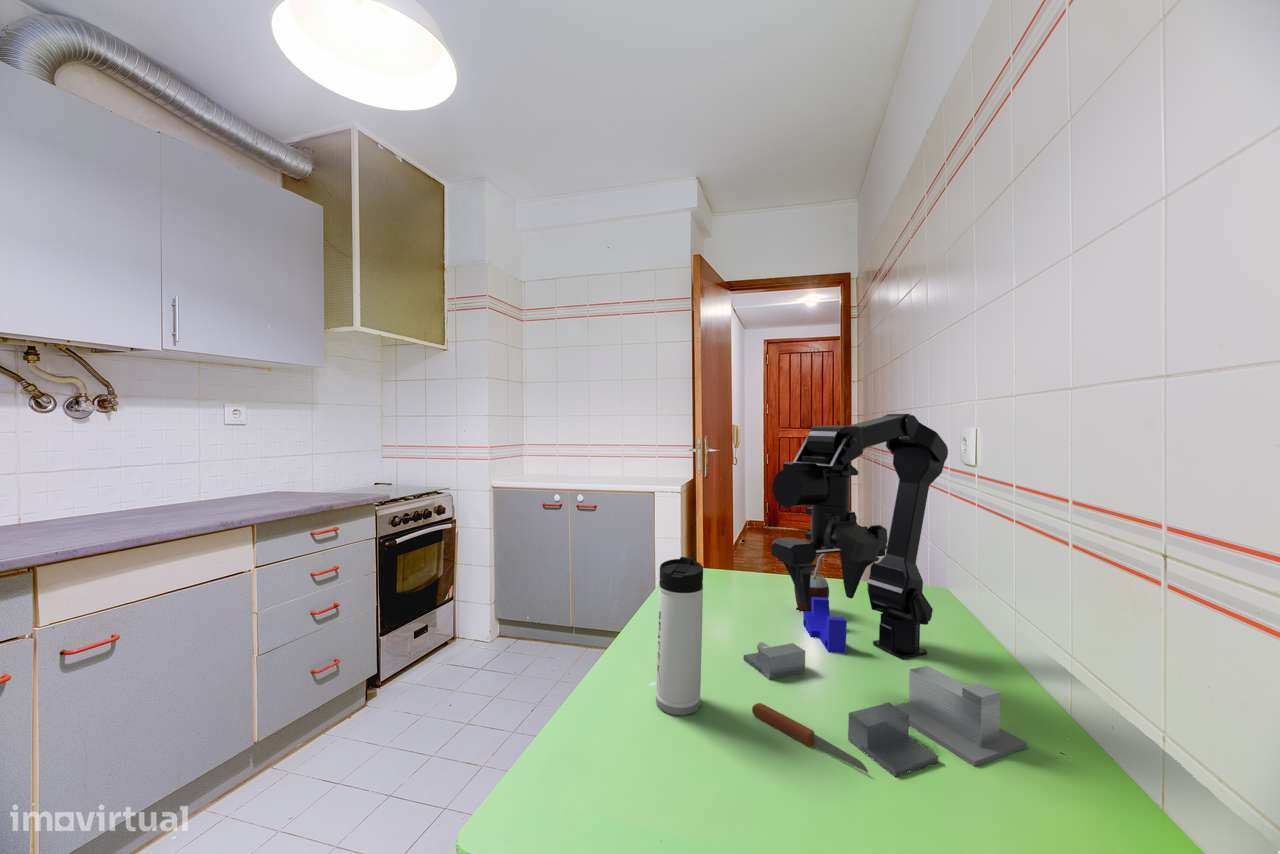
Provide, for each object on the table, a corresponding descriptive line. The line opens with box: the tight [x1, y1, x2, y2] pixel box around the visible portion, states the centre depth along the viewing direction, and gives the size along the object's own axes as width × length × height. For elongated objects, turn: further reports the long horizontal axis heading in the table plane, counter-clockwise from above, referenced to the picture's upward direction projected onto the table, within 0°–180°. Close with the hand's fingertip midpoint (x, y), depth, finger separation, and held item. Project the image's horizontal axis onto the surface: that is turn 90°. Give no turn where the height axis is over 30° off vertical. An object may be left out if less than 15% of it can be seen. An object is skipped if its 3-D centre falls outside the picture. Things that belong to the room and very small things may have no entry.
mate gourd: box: [793, 553, 830, 613], centre depth 106 cm, size 8×8×15 cm
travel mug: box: [655, 556, 704, 716], centre depth 70 cm, size 6×7×20 cm
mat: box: [894, 701, 1028, 767], centre depth 66 cm, size 10×12×1 cm
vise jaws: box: [743, 641, 939, 777], centre depth 71 cm, size 7×30×4 cm, turn 22°
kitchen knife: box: [751, 702, 869, 773], centre depth 62 cm, size 16×1×2 cm, turn 40°
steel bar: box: [908, 665, 1001, 748], centre depth 66 cm, size 4×10×6 cm, turn 22°
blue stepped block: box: [802, 597, 848, 654], centre depth 93 cm, size 12×4×6 cm, turn 175°
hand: (827, 600), depth 79 cm, fingers open, 9 cm apart
